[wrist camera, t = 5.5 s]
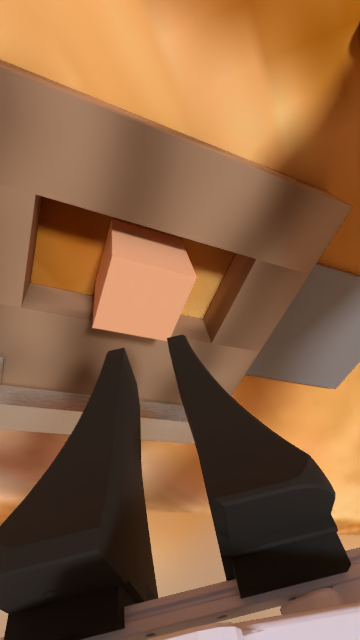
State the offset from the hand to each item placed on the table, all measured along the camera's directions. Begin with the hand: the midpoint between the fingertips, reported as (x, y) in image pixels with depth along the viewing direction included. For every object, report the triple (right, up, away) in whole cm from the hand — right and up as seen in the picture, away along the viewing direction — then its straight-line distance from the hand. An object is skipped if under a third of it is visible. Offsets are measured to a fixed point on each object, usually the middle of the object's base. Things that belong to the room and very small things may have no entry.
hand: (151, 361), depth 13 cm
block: (-1, +5, +7) cm, 8 cm away
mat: (+12, +1, +13) cm, 17 cm away
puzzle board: (-3, +4, +7) cm, 9 cm away
